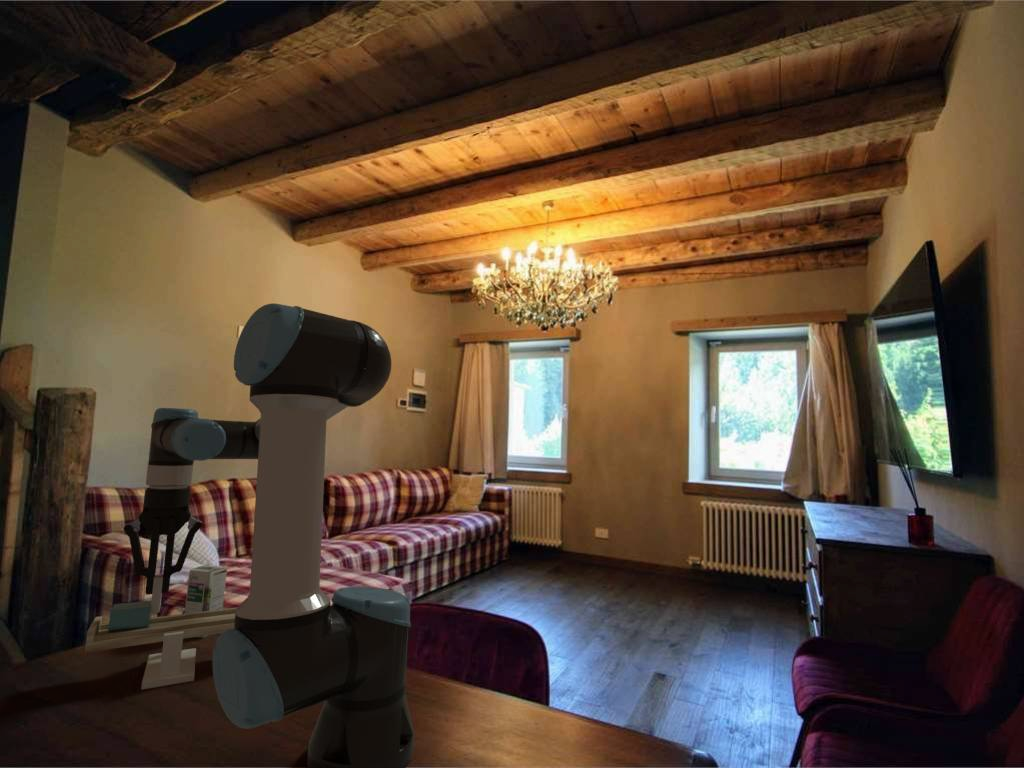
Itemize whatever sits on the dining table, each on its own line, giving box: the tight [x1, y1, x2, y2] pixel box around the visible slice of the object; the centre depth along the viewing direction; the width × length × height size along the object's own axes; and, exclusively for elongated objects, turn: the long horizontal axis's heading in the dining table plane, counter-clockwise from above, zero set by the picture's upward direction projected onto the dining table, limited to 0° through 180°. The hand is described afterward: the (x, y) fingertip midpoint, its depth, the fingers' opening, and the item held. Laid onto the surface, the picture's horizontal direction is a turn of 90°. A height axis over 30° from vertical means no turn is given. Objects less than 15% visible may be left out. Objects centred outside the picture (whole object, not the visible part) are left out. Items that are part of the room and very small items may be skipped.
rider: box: [108, 600, 152, 633], centre depth 96 cm, size 4×6×4 cm, turn 120°
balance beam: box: [84, 607, 237, 653], centre depth 99 cm, size 9×26×6 cm, turn 121°
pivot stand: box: [141, 631, 197, 691], centre depth 99 cm, size 13×8×9 cm, turn 31°
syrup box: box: [184, 564, 228, 639], centre depth 118 cm, size 6×6×14 cm
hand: (155, 610), depth 98 cm, fingers closed
